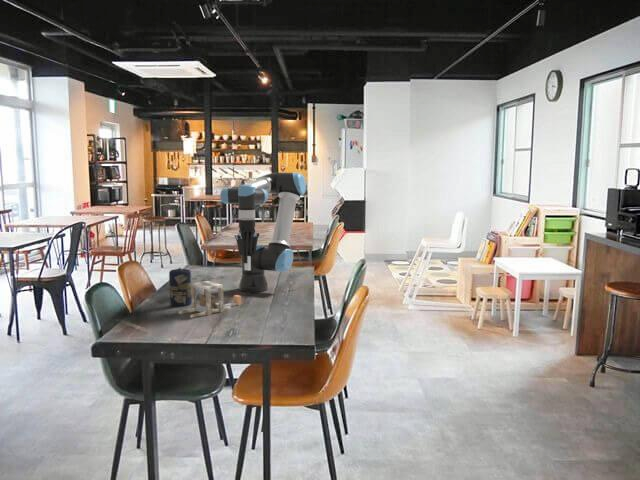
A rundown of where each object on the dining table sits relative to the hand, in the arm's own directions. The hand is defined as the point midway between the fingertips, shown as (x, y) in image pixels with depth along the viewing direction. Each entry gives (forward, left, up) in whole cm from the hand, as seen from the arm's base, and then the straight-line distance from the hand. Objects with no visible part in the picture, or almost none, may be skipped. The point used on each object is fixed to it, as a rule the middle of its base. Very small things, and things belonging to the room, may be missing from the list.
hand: (247, 269), depth 263 cm
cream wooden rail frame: (+21, 0, -16) cm, 27 cm away
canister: (+24, -19, -17) cm, 35 cm away
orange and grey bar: (+16, 0, -15) cm, 22 cm away
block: (+22, 0, -14) cm, 26 cm away
